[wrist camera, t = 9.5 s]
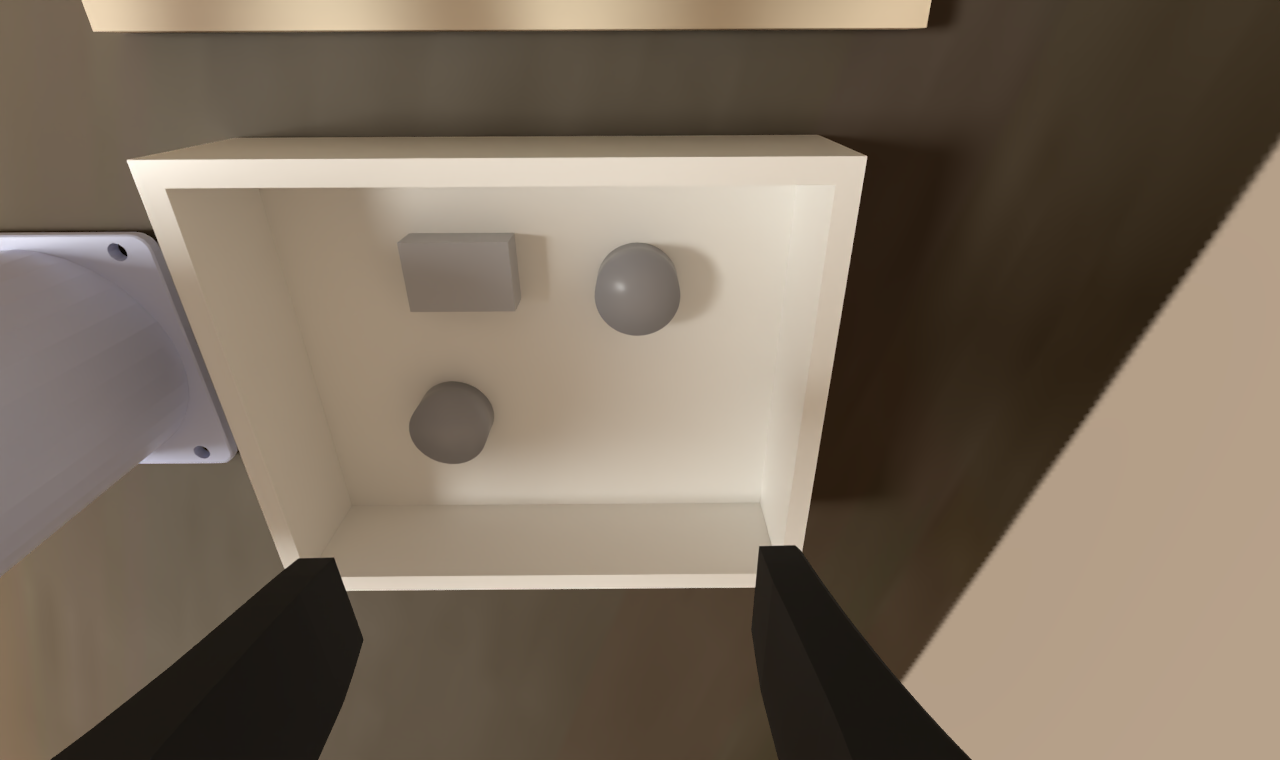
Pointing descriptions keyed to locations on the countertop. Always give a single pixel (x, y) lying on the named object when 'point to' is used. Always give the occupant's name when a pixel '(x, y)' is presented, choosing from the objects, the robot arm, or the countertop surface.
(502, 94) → the countertop surface
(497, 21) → the board
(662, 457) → the tub
